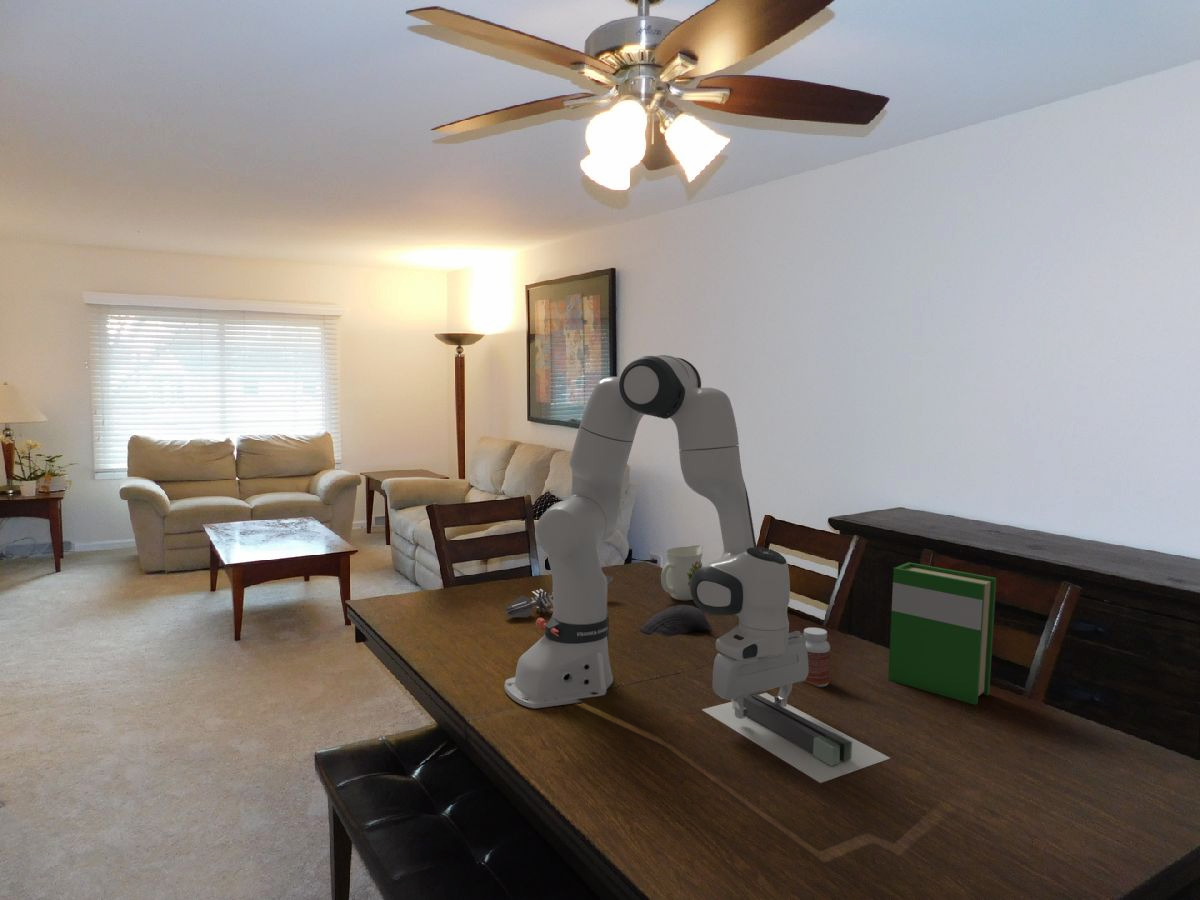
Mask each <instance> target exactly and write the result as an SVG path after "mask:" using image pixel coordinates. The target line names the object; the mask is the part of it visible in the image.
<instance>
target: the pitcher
mask: <svg viewBox="0 0 1200 900" xmlns="http://www.w3.org/2000/svg"><path fill="white" fill-rule="evenodd" d="M703 548H704V546H703V545H701V544H699V545H698V544H697V545H690V546H680V547H679V546H678V547H673V548H670V549H667V550H666V551H665V552H666V558H667V561H666V563H665V564H664V566H663V567H662V570H661V572H660V573H661V574H660V584H661V587H662V589H663V590H664V591H665V592H666V593H669V594H670V596H671V598H672V599H674V600H676V601H677V600H678V601H690V600H693V598H692V595H691V591H690V582H691V578H692V576H693V574H694V572H695V571H696V570H697V569H699V568H701V567H702V566H703V563H702V559H703V558H702V556H703Z"/></svg>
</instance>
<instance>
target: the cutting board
mask: <svg viewBox="0 0 1200 900" xmlns="http://www.w3.org/2000/svg"><path fill="white" fill-rule="evenodd" d="M759 695H760V696H762V697H764V698H766V699H768V700H770V701H771V702H773V703H774V702H775V700H774V696H773V695H771V694H769V693H768V692H763V693H760V694H759ZM783 708H785V709H787V710H789V711H791V712H793V713H795V714H797V715H799V716H801V717H803V718H805V719H807V720H809V721H811V722H813V723H815V724H816V725H818V726H820V727H822V728H824V729H826V730H828V731H830V732H835V733H837V734H839V735H841V736H843V737H845V738H847V739H849V740H851V741H852V759H850V760H847V761H842V760H840V761H839V764H836V765H833V766H831V765H829V764H827V763H825V762H824V761H822V760H820V759H819V758H817V757H815V756H813V753H811V752H809V751H807V750H806V749H804V748H802V747H801V746H799V745H797V744H795V743H794V742H792V741H790V740H788V739H787V738H785V737H783V736H782V735H780V734H778V733H776V732H775V731H773V730H771V729H769V728H768V727H766V726H764V725H763V724H761V723H759V722H757V721H756V720H754V719H752V718H750V717H749V716H747V717H746V718H743V719H739V718H737V717H736V716H735V710H734V709H733V708H732V702H731V701H730V702H726V703H721V704H718V705H713V706H709V707H706V708H702V709H701V711H703V712H704V713H706V714H708V715H709V716H711V717H712V718H714V719H715V720H716V721H719V722H721V723H722V724H724V725H725V726H727V727H728V728H730V729H732V730H734V731H735V732H737V733H738V734H739V735H742V736H743V737H745V738H746V739H748V740H750V741H751V742H753V743H755V745H757V746H759V747H761V748H763V749H764V750H766V751H767V752H769V753H771V754H772V755H773V756H776V757H778V758H779V759H780V760H782V761H784V762H785V763H787V764H789V765H790V766H792V767H794V768H795V769H797V770H798V771H800V772H802V773H803V774H805V775H806V776H808V777H810V778H811V779H813V780H814V781H816V782H818V783H819V784H822V783H825V782H827V781H830V780H834V779H837V778H838V777H841V776H845V775H847V774H851V773H853V772H856V771H859V770H861V769H865V768H868V767H870V766H874V765H876V764H878V763H881V762H884V761H887V760H890V759H891V757H889V756H887V755H886V754H884V753H882V752H879V751H878V750H876V749H874V748H872V747H870V746H869V745H867V744H864V743H862V742H861V741H858V740H857V739H855V738H853V737H851V736H849V735H848V734H845V733H843V732H842V731H840V730H837V729H836V728H834V727H832V726H830V725H828V724H826V723H824V722H822V720H819V719H817V718H814V717H813V716H811V715H809V714H808V713H805V712H803V711H801V710H800V709H797V708H796V707H794V706H792V705H791V704H788V703H787V706H786V707H783Z"/></svg>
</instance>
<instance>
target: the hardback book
mask: <svg viewBox="0 0 1200 900" xmlns="http://www.w3.org/2000/svg"><path fill="white" fill-rule="evenodd" d="M996 589H997V577H994V576H988V575H987V576H986V575H981V574H976V573H970V572H965V571H959V570H954V569H949V568H943V567H942V568H941V567H938V566H937V567H936V566H931V565H925V564H919V563H914V562H910V561H909V562H908V561H907V562H906V563H903V564H901V565H898V566H896V567H893V575H892V594H891V595H892V596H891V616H890V636H889V637H890V638H889V640H890V641H889V655H888V656H889V657H888V659H889V660H888V676H887V677H888V678H887V679H888V681H891V682H896V683H898V684H902V685H905V686H908V687H911V688H915V689H919V690H922V691H925V692H929V693H933V694H937V695H938V696H939V695H940V696H943V697H945V698H946V697H947V698H949V699H950V698H951V699H954V700H957V701H960V702H964V703H968V704H971V705H974V706H977V705H978V704H979V696H981V695H985V696H989V695H990V687H991V685H990V684H991V673H992V672H991V670H992V654H993V653H992V652H993V637H994V622H995V607H996V591H997V590H996Z"/></svg>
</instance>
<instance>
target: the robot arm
mask: <svg viewBox="0 0 1200 900" xmlns="http://www.w3.org/2000/svg"><path fill="white" fill-rule="evenodd" d="M645 416H650V417H651V416H652V417H655V418H656V417H657V418H659V419H664V420H668V419H671V420H672V422H673V424H675V427H676V431H677V441H678V450H679V451H678V452H679V462H680V470H681V474H682V476H683V481H684V482H685V484H686V486H687V487H689V488H690V489H691V490H692V491H693V492H694V493H696V494H698V495H700V496H702V497H704V498H706V499H707V500H708V501H709V502H710V503H712V504H713V506H714V507H715V510H716V512H717V515H718V520H719V521H718V522H719V527H720V533H721V540H722V545H723V552H722V554H721V557H720V558H718V559H716V560H713V561H711V562H708V563H706V564H704V565H702V567H701V568H699V569H697V570H696V571H695V572H694V574H693V576H692V578H691V582H690V591H691V595H692V598H693V599H692V600H693V601H694V604H695V605H696V607H697V608H698V609H700V610H701V611H702V612H703V613H704V614H705V613H706V614H709V615H712V616H713V615H715V616H734V615H736V616H737V617H738V625H736V626H735V627H734V628H732V629H731V630H730V631H728V632H726V633H725V634H723V635H721V636H719V638H717V639H716V641H715V650H717V651H718V653H717V654H716V655H715V658H714V661H713V669H712V690H713V692H714V693H715V694H716V695H717V696H718V697H720V698H721V699H724V700H725V701H729V700H730V702H732V703H733V705H734V707H735V716H736V717H737V718H739V719H743V718H746V717H747V711H748V709H747V708H745V707H743V706H742V703H741V702H742V701H743V699H744V696H746V695H750V696H751V695H755V694H758V693H762V692H765V691H768V690H773V689H777V688H779V690H778V693H777V695H774V696H773V697H774V700H775V702H774V703H775V704H777V705H779V706H781V707H786V706H787V704H788V703H787V700H788V698H789V695H790V694H791V692H792V690H793V684H797V683H800V682H805V681H804V680H805V679H806V678H807V676H808V672H809V669H808V655H807V649H806V637H805V636H804V632H803V633H802V632H801V631H800V630H794V631H792V632H789V631H790V630H789V628H790V626H789V625H790V622H789V617H788V607H789V604H790V600H791V599H790V595H791V591H790V590H791V589H790V588H791V587H790V586H791V585H790V583H791V582H790V581H791V580H790V572H789V571H790V569H789V565H788V564H789V563H788V561H787V560H786V557H785V556H784V555H782V554H780V552H778V551H775V550H773V549H770V548H766V547H759V546H757V542H756V537H755V529H754V523H753V518H752V511H751V507H750V506H751V505H750V499H749V495H748V489H747V487H746V482H745V481H744V476H743V472H742V471H743V470H742V463H741V454H740V446H739V445H740V442H739V434H738V428H737V422H736V417H735V414H734V409H733V406H732V403H731V399H730V398H729V396H728V395H727V394H726V393H725V392H724V391H722V390H720V389H718V388H714V387H702V378H701V375H700V373H699V371H698V370H697V368H696V367H695V366H694V365H693V364H692V363H691V362H690V361H687V360H686V359H683V358H681V357H674V356H672V355H665V354H660V355H643V356H641V357H637V358H635V359H634V360H632V361H631V362H629V363H628V364H627V365H626V367H624V369H623V371H622V373H621V375H620V376H608V377H604V378H601V379H600V380H598V382H597V383H596V384H595V386H594V388H593V390H592V392H591V394H590V396H589V398H588V401H587V403H586V406H585V408H584V412H583V414H582V417H581V421H580V424H579V427H578V430H577V434H576V438H575V440H574V444H573V445H574V446H573V448H572V452H571V456H570V459H569V466H570V467H571V472H572V478H571V490H570V494H569V495H568V497H567V498H566V499H564V500H560V501H559V502H558V501H557V502H555V503H554V504H552V505H551V506H550V507H548V508H547V509H546V510H545V512H543V513H542V514H541V516H540V517H539V518H538V521H537V523H536V527H535V535H536V540H537V542H538V544H539V546H540V547H541V549H542V550H543V551H544V552H545V554H546V555H547V560H548V563H549V564H548V565H549V568H550V573H551V579H552V592H553V604H552V609H553V610H552V615H551V617H550V618H549V620H546V619H544V618H543V617H538V618H537V619H536V620H535V626H536V627H537V628H539V629H540V630H542V631H543V630H545V631H544V635H543V636H542V637H541V638H540V639H539V640H538V641H536V642H535V644H533V645H532V646H530V648H528V649H527V650H526V651H525V652H524V653H523V654H522V655H521V656H520V657H519V658H518V660H517V664H516V670H515V676H514V677H511V678H507V679H505V681H504V692H505V693H506V694H507V696H508V697H510V699H512V700H513V701H514V702H516V703H518V704H519V705H521V706H524V707H527V708H531V709H541V708H548V707H549V708H550V707H555V706H562V705H571V704H578V703H583V701H582V700H580V699H586V698H593V697H594V698H595V697H600V696H605V695H606V694H607V690H608V688H609V687H610V686H611V685H612V684H613V682H614V677H613V673H612V669H611V664H610V657H609V655H610V654H609V647H608V640H609V636H610V616H609V615H608V584H607V578H606V576H607V575H605V574H604V573H603V570H602V566H601V562H600V561H601V560H600V557H599V546H600V544H602V543H605V542H606V541H607V540H610V538H611V537H612V536H613V535H614V534H615V532H616V530H617V529H618V527H619V526H620V523H621V520H622V511H621V508H620V505H621V498H622V488H623V487H622V486H623V479H624V476H625V471H626V467H627V464H628V460H629V458H630V454H631V450H632V447H633V445H634V444H633V443H634V439H635V437H636V433H637V429H638V427H639V424H640V421H641V420H642V419H643V417H645ZM594 693H595V694H594Z"/></svg>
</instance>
